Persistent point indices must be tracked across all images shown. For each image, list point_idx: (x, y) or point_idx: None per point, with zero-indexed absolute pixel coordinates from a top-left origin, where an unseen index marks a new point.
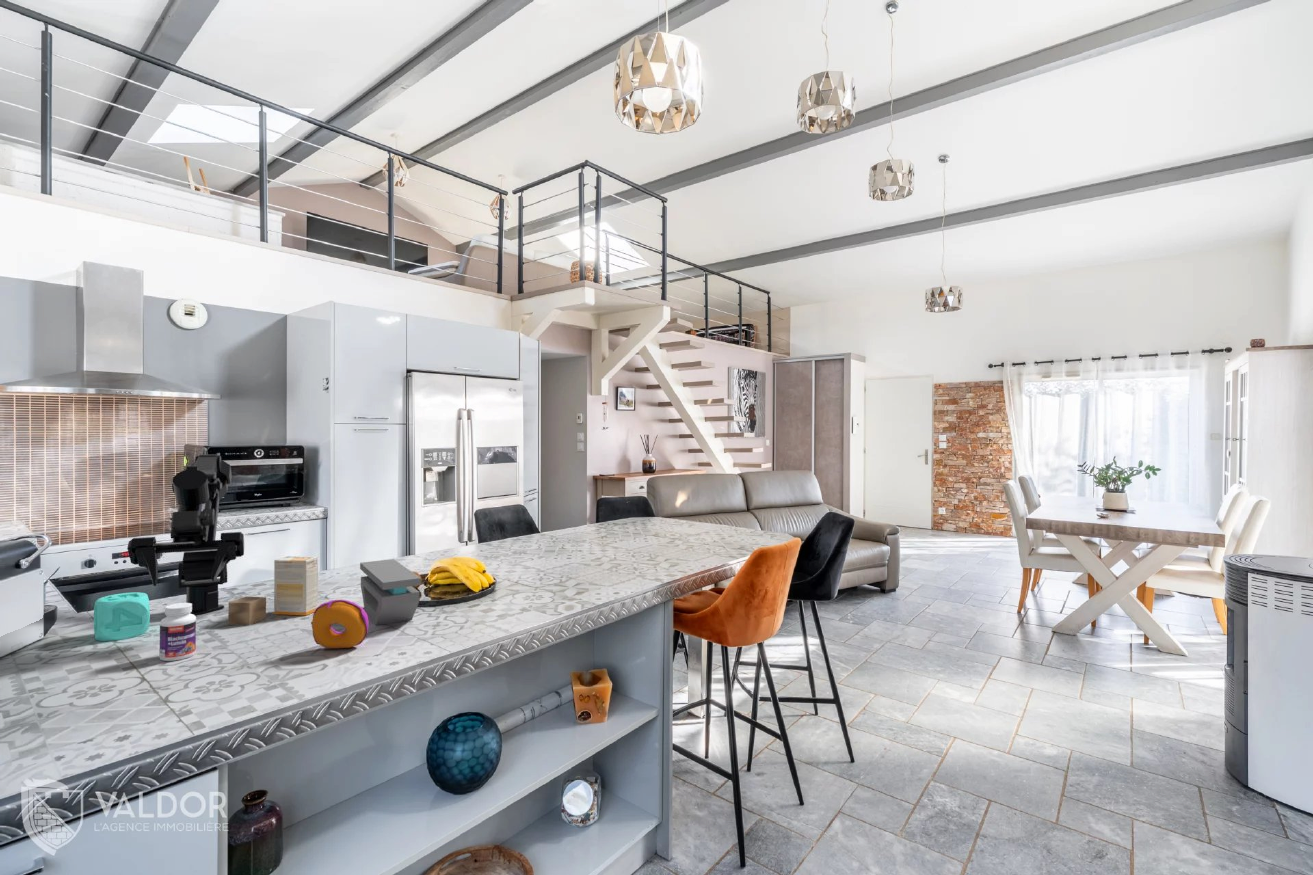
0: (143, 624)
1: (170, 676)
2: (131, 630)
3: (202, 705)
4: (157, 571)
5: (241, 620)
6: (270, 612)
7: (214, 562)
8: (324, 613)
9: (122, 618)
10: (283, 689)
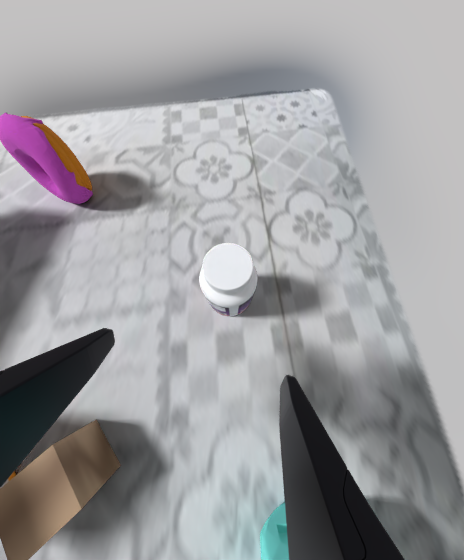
0: (273, 523)
1: (244, 221)
2: None
3: (230, 137)
4: (290, 530)
5: (98, 441)
6: None
7: (27, 381)
8: (54, 133)
9: None
10: (171, 130)
